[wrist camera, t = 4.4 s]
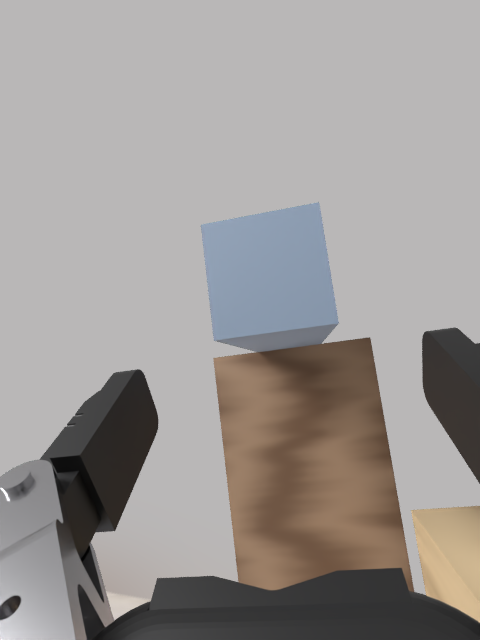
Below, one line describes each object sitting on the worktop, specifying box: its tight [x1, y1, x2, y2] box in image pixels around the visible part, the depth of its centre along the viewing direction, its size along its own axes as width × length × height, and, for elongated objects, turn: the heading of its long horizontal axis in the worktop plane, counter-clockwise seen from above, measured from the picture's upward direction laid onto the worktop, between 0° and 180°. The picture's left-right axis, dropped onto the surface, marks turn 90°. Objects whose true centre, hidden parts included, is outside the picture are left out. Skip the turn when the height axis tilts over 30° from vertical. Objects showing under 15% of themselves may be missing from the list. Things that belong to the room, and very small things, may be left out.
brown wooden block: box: [214, 338, 414, 592], centre depth 30 cm, size 10×18×32 cm, turn 170°
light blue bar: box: [201, 202, 339, 352], centre depth 27 cm, size 4×30×4 cm, turn 170°
